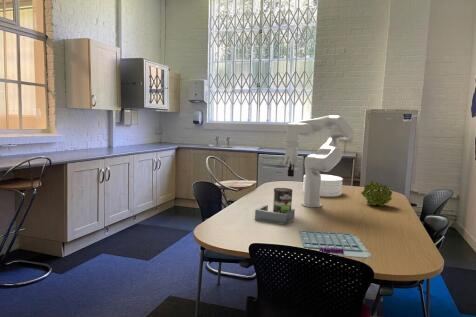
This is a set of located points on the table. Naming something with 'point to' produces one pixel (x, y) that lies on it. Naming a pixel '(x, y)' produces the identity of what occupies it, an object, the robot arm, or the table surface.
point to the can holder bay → (273, 215)
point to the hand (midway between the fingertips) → (290, 176)
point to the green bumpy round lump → (377, 194)
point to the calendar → (334, 243)
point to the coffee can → (282, 200)
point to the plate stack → (329, 185)
